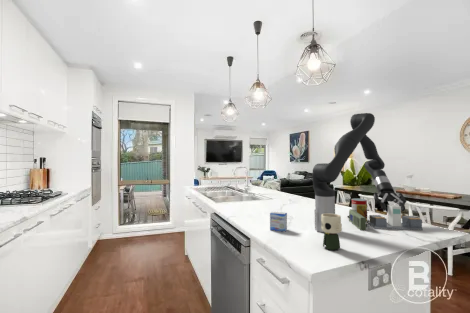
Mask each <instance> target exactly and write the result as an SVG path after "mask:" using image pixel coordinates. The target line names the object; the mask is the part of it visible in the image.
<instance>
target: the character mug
mask: <svg viewBox="0 0 470 313" xmlns="http://www.w3.org/2000/svg"><path fill="white" fill-rule="evenodd" d="M341 217H342V216H341V215H340V214H336V213H335V214H330V213H325V214H322V215H321V223H322V226H321V228H322V231H324V232H323V233H324V234H323V242H322V247H323V248H325V249H327V250H333V251H335V250H338V249H340V248H341V243H340V236H339V234H340V233H341V232H342V230H343V228H342V226H343V224H342V218H341Z"/></svg>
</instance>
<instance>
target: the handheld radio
mask: <svg viewBox="0 0 470 313" xmlns="http://www.w3.org/2000/svg"><path fill="white" fill-rule="evenodd" d="M346 218H347V219H348V221H349V222H350V223H351V224H353V225H354V226H355V227H357V229H358V230H360V231H364V230H365V231H366V230H367V221H366V218H365V217H363V216H362V215H360V214H359V213H357V212H356V211H354V210H352V208H351V209H350V208H349V211H348V215H347V217H346ZM365 231H364V232H365Z"/></svg>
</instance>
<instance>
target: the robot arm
mask: <svg viewBox="0 0 470 313" xmlns="http://www.w3.org/2000/svg"><path fill="white" fill-rule="evenodd" d="M375 121H376V117H375V115H374V114H373V113H371V112H364V113H363V112H362V113H361V112H360V113H355V114H352V116H350V121H349V122H350V127H351V130H350V131H348V132H346V133H345V134H343V135H342V136H341V137H340V138H339V139H338V140H337V142H336V143H335V145H334V150H333V151H334V157H333V158H332V160H331V161H329V162H328V163H323V162H322V163H316V164H315V165H314V166H313V169H312V186H313V187H312V188H313V190H314V201H315V202H314V207H315V208H314V229H315V231H316V232H320V233H325V232H324V231H322V228H321V226H322V223H321V215H322V214H325V213H330V214H336V196H335V195H336V193H335V190H334V189H333V188H331V187H330V186H329V185H328V183H334V182H335V181H336V180H337V179H338V177H339V176H340V173H341V172H342V170H343V168H344V166H345V164H346V163H347V161H348V160H349V158H350V156H351V155H353V152H354V151H355V150H356V148H357V147H358V146H359V144H360V146H361V149H362V151H363V154H364V157H365V159H366V160H367V161H365V162H364V168H365V170H366V171H367V172H368V173H369V175H371V177H372V180H373V182H374V185H375V188H376V190H377V192H378V193H377V192H374V193H373V196H372V197H373V199H374V203H375V204H376V205H380V207H381V209H382V211H385V212H386V211H387V207H386V206H387V205H386V203H385V202H387V203H388V202H391V203H392V202H393V203H395V204H396V205H398V206H401V212H404V211H405V210H406V206H405V205H406V202H407V200H406V198H405V196H404V194H403V193H401V192H399V193H396V192H395V188H393V185H392V183H391V181H390V180H389V178H388V176H387V173H386V172H385V170H383V169H384V168H385V165H386V164H385V162H384V160H383V159H382V158H381V157H380V155H379V152H378V149H377V145H376V143H375V142H374V141H373V140H372V139H371V138H370V137H369V136H368V135H367V134H368V133H369V132H370V131H371V130H372V128H373V126H374V125H375ZM379 198H380V199H381V200H380V199H379Z"/></svg>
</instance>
